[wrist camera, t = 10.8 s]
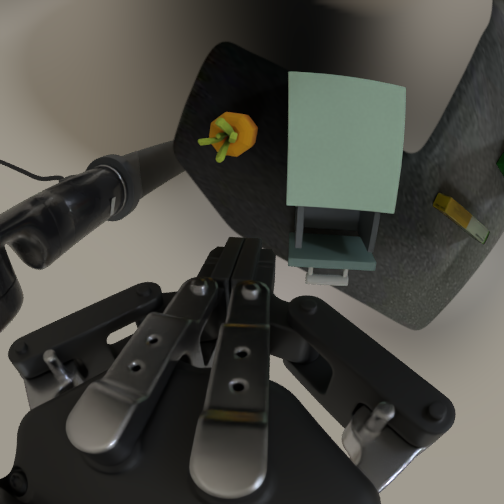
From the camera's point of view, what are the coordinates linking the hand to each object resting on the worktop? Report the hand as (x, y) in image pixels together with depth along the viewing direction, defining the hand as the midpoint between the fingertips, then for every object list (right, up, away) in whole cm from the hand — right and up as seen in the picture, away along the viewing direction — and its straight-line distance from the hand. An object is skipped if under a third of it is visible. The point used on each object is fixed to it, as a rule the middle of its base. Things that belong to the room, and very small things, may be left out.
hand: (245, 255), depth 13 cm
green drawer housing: (+12, +16, +21) cm, 28 cm away
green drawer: (+11, +6, +25) cm, 28 cm away
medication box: (+34, +6, +22) cm, 41 cm away
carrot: (0, +17, +22) cm, 28 cm away
